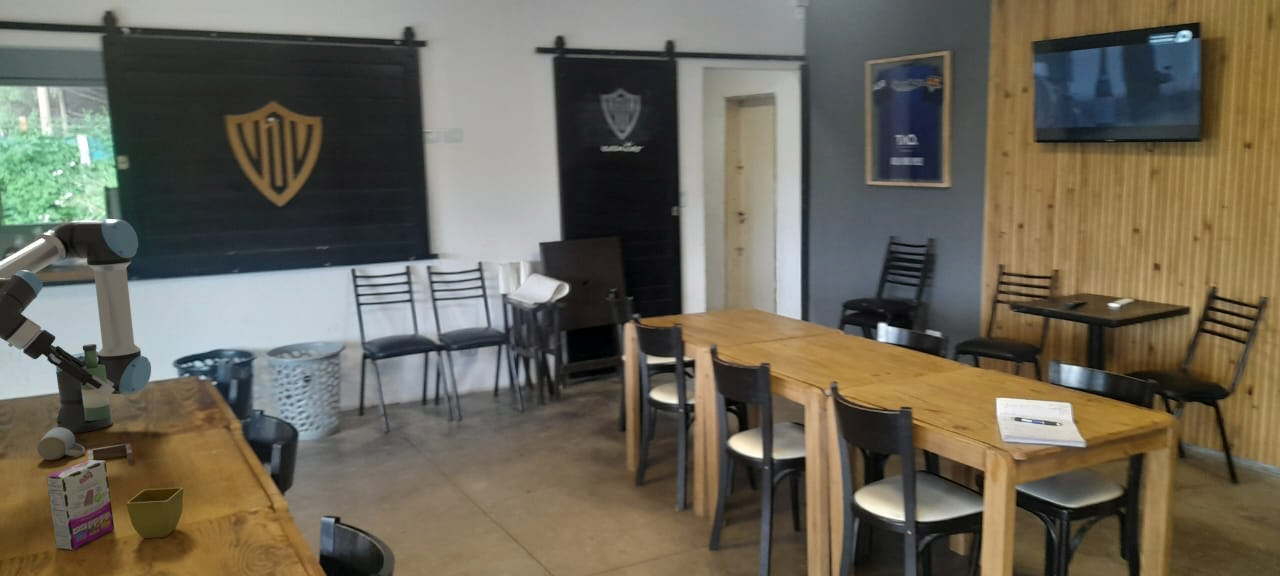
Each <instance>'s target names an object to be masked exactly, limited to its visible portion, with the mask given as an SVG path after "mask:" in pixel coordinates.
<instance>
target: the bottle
mask: <svg viewBox="0 0 1280 576" xmlns="http://www.w3.org/2000/svg"><path fill="white" fill-rule="evenodd" d="M97 349H98V346H97V344H95V343H91V344H84V345H82V350H83V353H84V355H85V363H86V366H84V367H81V368H82V369H84V370H85V371H86V372H88V373H89V374H91V375H92V376H93V375H94V376H95V377H97V378H98V379H100V380H102V381H103V382H105V383H106V384H107V379H106V370H105V365H98V361H97V353H96V351H97ZM81 384H82V383H81ZM81 387H82V397H83V405H84V412H85V419H86V420H88V421H94V420H101V419H105V418H108V417H110V416H111V415H112V413H111V405H110V396H109V397H108V398H107V397H106V396H104V395H103V394H101V393H100V392H98V391H96V390H95V389H93V388H92V387H90V386H89V385H87V384H85V385H84V386H83V385H81Z"/></svg>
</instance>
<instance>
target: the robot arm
mask: <svg viewBox="0 0 1280 576" xmlns="http://www.w3.org/2000/svg"><path fill="white" fill-rule="evenodd" d="M138 248H139V240H138V235H137V233H136V231H135V229H134V227H133V226H131V224H130V223H128V222H127V221H125V220H123V219H113V218H106V219H104V218H103V219H75V220H70V221H67V222H63V223H60V224H58V225H56V226H54V227H51V228H49V229H47V230H44V231H43V232H42V233H40V234H38V235H36V236H35V237H34V238H33V240H32V242H31V243H29V244H28V245H26V246H24V247H22V248H20V249H19V250H17V251H15V252H14V253H11V255H8V256H7V257H5V258H3V259H2V260H0V339H2V340H3V341H5V342H6V343H8V344H7V346H8V347H9V348H10V347H14V348H16V349H18V350H22V351H23V354H24V355H26V356H28V357H30V359H32V360H37V359H39V358H40V357H41V356H42V355H44V356H45V357H46V358H47V360H46V361H48V362H49V363H50V364H51V365H54V366H55V367H56V369H55V371H56V372H55V374H56V379H57V388H58V396H59V403H60V404H59V411H58V414H57V419H56V421H55V428H57V427H62V428H66V429H68V430H70V431H71V432H72V433H73V434H78V433H80V434H81V433H86V432H87V433H88V432H91V431H97V430H101V429H103V428H104V429H105V428H107V427H109V426H111V425H112V424H113V417H112V416H113V415H112V414H111V416H110V417H108V418H105V419H101V420H94V421H88V420H86V419H85V412H84V405H83V397H82V387H81V385H83V386H84V385H85V384H87V385H89V386H90V387H92V388H93V389H95V390H96V391H98V392H100V393H101V394H103V395H104V396H106V397H107V398H108V397H109V398H110V396H111V395H123V396H124V395H134V394H138V393H141V392H142V391H143V390H144V389H145V388H146V386H147V385H148V383H149V381H150V378H151V374H152V364H151V362H150V359H148V358H147V356H144V355H142V353H141V347H139V346H137V344H135V339H134V337H135V336H134V329H133V319H132V312H131V311H132V309H131V302H130V291H129V282H128V274H127V273H128V272H127V267H128V266H129V265H130V264H131V263H132V257H134V256H135V255H136V254H137V252H138V250H137V249H138ZM71 259H86V263H87V266H88V267H89V268H91V269H92V270H93V272H94V282H95V290H96V299H97V300H96V301H97V309H98V317H99V318H98V320H99V327H100V335H101V336H100V337H101V345H102V347H101V349H100V350H99V351H97V350H96V353H97V361H98V365H105V370H106V379H107V384H106V383H105V382H103V381H102V380H100V379H98V378H97V377H95V376H94V375H93V376H92V375H91V374H89V373H88V372H86V371H85V370H84V369H82V368H81V367H84V366H86V363H85V355H84V352H79V353H75V354H70V353H69V352H67V351H66V350H64V349H63V348H62V347H60V345H56V346H54V345H53V343H54V342H55V340H56V336H55V335H54V334H52V333H50V332H49V331H47V330H46V329H42V327H41V326H40V325H39V324H37V323H36V322H34V321H33V320H32V319H30V318H28V317H26V316H24V314H23V313H24V311H25V310H26V309H27V308H28V306H29V305H30V304H31V303H32V302H33V301H34V300H35V299H36V298H37V297H38V296H39V293H40V292H41V291H42V289H43V285H44V284H43V283H44V282H43V281H42V279H41V278H40V277H39V275H37V274H36V273H38V272H40V270H42V269H44V268H46V267H48V266H49V265H54V264H55V265H56V264H60V263H61V262H62V261H65V260H71ZM81 383H82V384H81Z"/></svg>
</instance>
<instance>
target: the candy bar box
mask: <svg viewBox="0 0 1280 576" xmlns="http://www.w3.org/2000/svg"><path fill="white" fill-rule="evenodd" d="M106 462H107V461H106V460H103V459H100V460H88V459H87V460H86V461H85V460H84V461H83V462H80V463H77V464H75V465H72V466H70V467H68V468H64V469H62V470H60V471H58V472H55V473H53V474H50V475H47V476H46V483H47V490H48V498H49V502H50V511H51V519H52V522H53V523H52V524H53V532H54V540H55V546H56V549H58V550H68V551H75V550H77V549H79V548H81V547H83V546H85V545H87V544H89V543H91V542H93V541H96V540H97V539H99V538H102V537H103V536H105V535H107V534H110V533H111V532H113V531H115V525H114V516H113V509H112V501H111V496H110V495H111V494H110V486H109V478H108V471H107V463H106Z"/></svg>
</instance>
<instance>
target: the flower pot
mask: <svg viewBox="0 0 1280 576" xmlns="http://www.w3.org/2000/svg"><path fill="white" fill-rule="evenodd" d="M183 499H184V487H165V488H149V489H142V490H141V491H139V492H138V493H137V494H136V495H135V496H134V497H132V498H130V499H129V500H128V501H127V502H126V507H127V512H128V515H129V518H130V522H131V525H132V527H133V529H134V530H135V531H136V533H137V534H138V535H139V536H140V537H141V538H143V539H149V538H150V539H151V538H166V537H168V535H170V534H171V533H172V532H173V531H174V530H175V529H176V527H177V525H178V524H179V522H180V519H181V516H182V512H183V503H184V501H183Z"/></svg>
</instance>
